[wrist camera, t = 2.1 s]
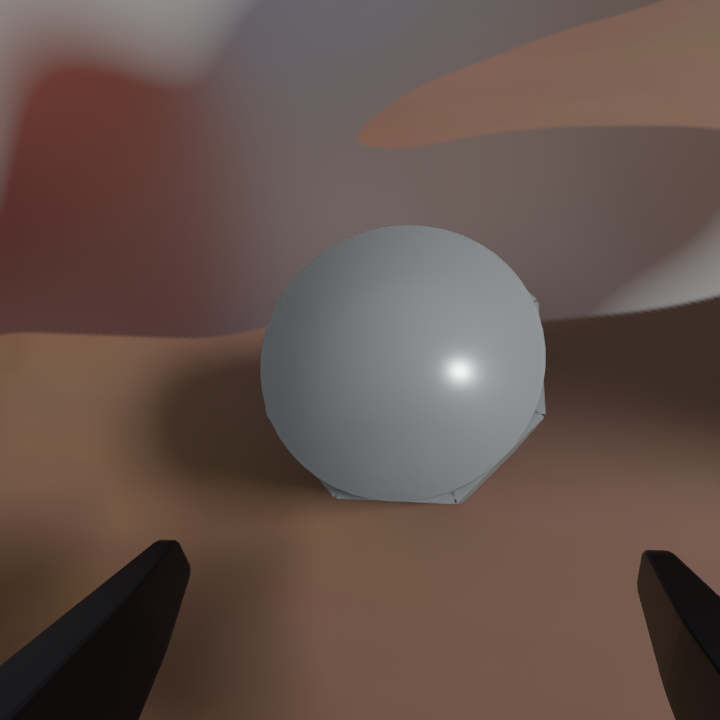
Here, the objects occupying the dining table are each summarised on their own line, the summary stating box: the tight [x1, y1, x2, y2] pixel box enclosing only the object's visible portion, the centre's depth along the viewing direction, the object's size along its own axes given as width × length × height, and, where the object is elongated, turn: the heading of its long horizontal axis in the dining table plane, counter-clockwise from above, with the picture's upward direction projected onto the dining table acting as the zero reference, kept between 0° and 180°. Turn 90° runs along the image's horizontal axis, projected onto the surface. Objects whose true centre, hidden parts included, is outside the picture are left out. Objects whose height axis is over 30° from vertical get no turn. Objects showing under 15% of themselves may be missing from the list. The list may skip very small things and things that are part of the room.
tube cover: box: [260, 225, 546, 504], centre depth 16 cm, size 7×7×10 cm
